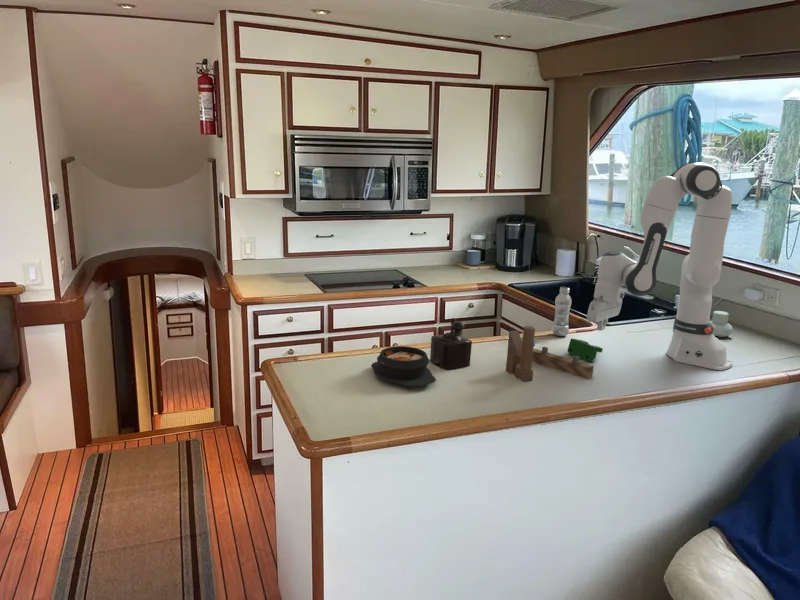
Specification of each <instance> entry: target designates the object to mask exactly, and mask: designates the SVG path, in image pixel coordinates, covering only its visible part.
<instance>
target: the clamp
mask: <svg viewBox="0 0 800 600" xmlns="http://www.w3.org/2000/svg"><path fill="white" fill-rule="evenodd" d="M603 350H604V348H602V347H600V346H597V345H593V344H589V342H587V341H585V340H582V339H576V338H570V340H569V343H568V347H567V353H568V354H569V355H571V356H572V357H573V356H579V359H581V360H583V361H586V362H590V363H591V362H593V361H594V360H595V359H596V356H597V354H598V353H602V352H603Z"/></svg>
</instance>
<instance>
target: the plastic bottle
mask: <svg viewBox="0 0 800 600" xmlns="http://www.w3.org/2000/svg"><path fill="white" fill-rule="evenodd" d="M570 290H571V289H570V287H567V286H560V288H559V294H557V295H556V297H555V299H554V300H555V301H554V302H555V304H554V305H555V306H554V307H555V309H554V310H555V311H554V312H555V313H554V320H553V324H552V326H551V327H552V328H551V331H552V334H553V335H555V336H556V337H566V336H567V335H568V334H569V331H570V330H569V329H570V328H569V327H570V326H569V318H570V317H569V316H570V315H569V314H570V310H571V306H572V298H571V296H570V294H569V293H570Z"/></svg>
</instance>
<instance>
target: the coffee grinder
mask: <svg viewBox="0 0 800 600" xmlns="http://www.w3.org/2000/svg"><path fill="white" fill-rule="evenodd" d="M450 325H451V326H450V331H449V332H445V333H443V334H436V335H431V338H430V340H431V341H430V358H429V360H430V362H429V363H432V364H433V365H435V366H436V367H439V368H440V369H442V370H445V371H453V370H458V369H465V368H469V367H470V365H471V356H472V345H473V341H472V340H470V339H469V338H466V337H464V336H463V334H464V332H463V330H464V328H465V325H464V323H463V322H462V321H457V320H456V318H453V317H452V318H451V320H450Z"/></svg>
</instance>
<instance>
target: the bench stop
mask: <svg viewBox="0 0 800 600" xmlns="http://www.w3.org/2000/svg"><path fill="white" fill-rule="evenodd" d="M548 351H549V347H547V346H542V348H541V350H540V349H534V348H533V356H532V363H534V362H535V364H538V365H540V366H544V367H548V368H551V369H553V370H557V371H560V372H564V373H566V374H569V375H572V376H575V377H579V378H582V379H585V380H589V379H592V378H593V375H594V365H591V364H588V363H584V362H581V361H580V358H579V356H573V355H572V358H568V357H564V356H561V355H557V354H554V353H551V352H548Z"/></svg>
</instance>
